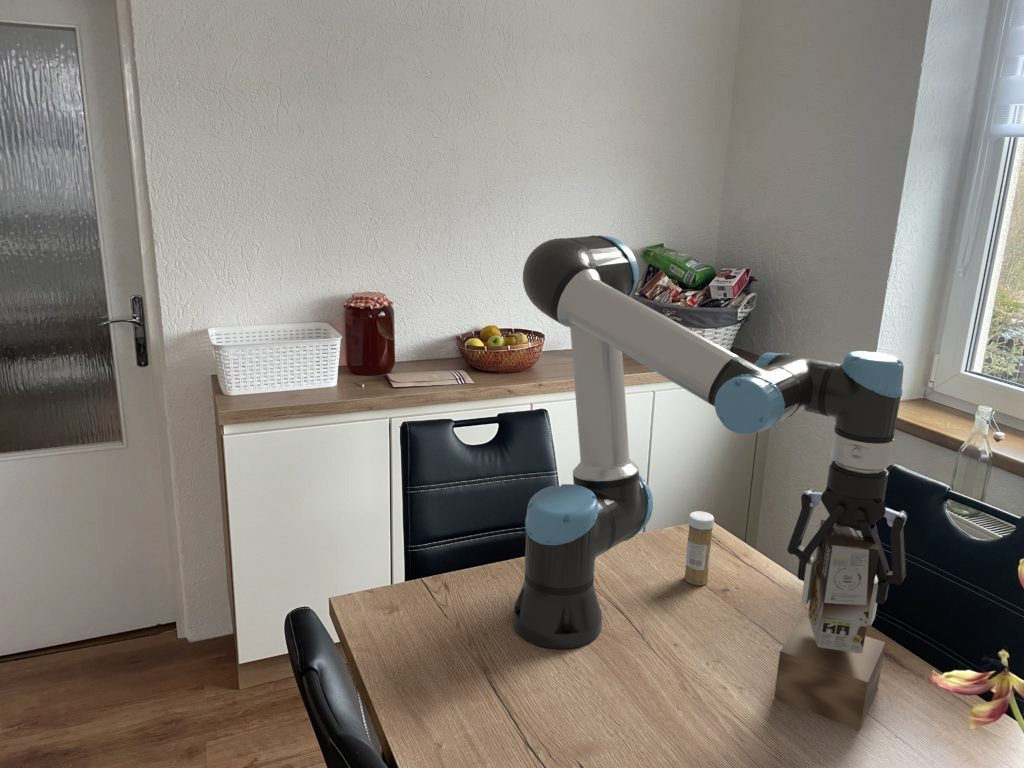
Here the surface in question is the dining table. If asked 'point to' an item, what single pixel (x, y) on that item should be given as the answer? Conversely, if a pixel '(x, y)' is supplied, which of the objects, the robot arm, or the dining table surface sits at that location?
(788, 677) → the walnut block
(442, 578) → the dining table surface
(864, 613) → the coffee box
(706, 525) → the sprinkles bottle
